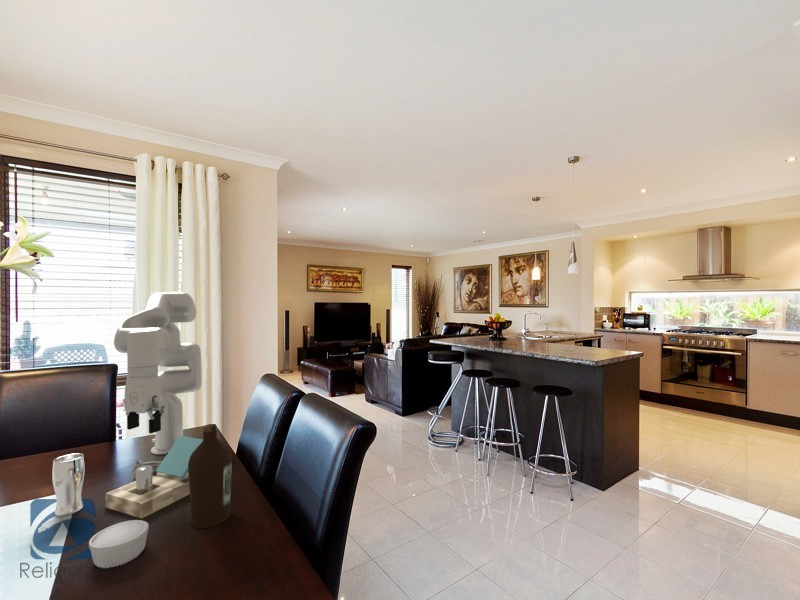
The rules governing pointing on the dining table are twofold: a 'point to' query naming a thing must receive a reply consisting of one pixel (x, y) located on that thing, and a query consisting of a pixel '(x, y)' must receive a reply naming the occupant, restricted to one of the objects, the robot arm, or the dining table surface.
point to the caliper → (140, 464)
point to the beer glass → (68, 483)
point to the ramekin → (118, 543)
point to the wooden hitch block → (148, 495)
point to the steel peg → (144, 480)
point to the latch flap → (179, 456)
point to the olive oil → (210, 480)
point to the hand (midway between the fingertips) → (144, 429)
